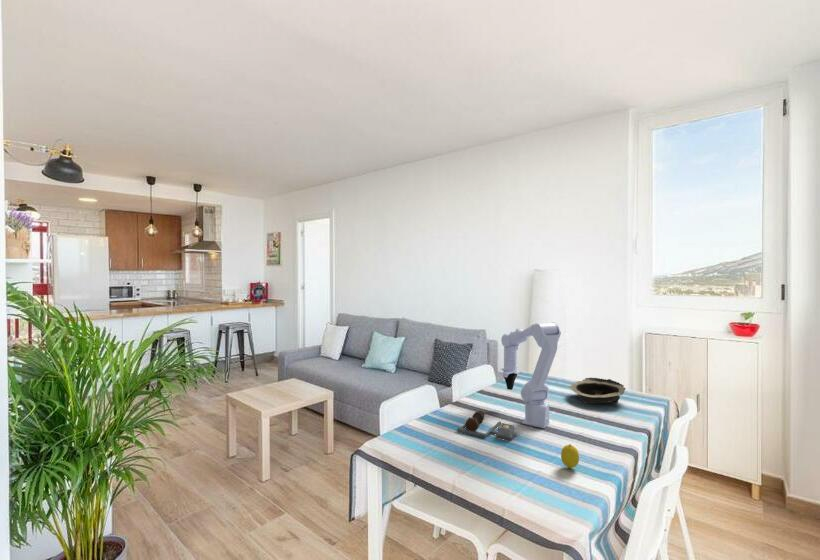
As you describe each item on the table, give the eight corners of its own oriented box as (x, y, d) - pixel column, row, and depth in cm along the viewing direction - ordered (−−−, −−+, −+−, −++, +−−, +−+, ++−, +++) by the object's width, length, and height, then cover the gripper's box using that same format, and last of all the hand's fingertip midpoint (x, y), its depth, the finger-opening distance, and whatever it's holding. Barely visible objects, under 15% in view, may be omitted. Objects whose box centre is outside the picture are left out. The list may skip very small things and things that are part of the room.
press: (522, 429, 164) (522, 418, 164) (508, 444, 150) (508, 433, 149) (474, 418, 175) (475, 408, 175) (457, 431, 161) (457, 421, 161)
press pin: (510, 432, 157) (510, 425, 156) (508, 434, 155) (508, 427, 154) (504, 431, 158) (504, 424, 158) (502, 433, 156) (502, 426, 156)
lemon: (557, 464, 135) (558, 441, 134) (573, 464, 135) (574, 440, 135) (565, 473, 129) (566, 448, 129) (582, 472, 130) (582, 448, 129)
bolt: (482, 423, 175) (473, 435, 161) (473, 415, 177) (462, 427, 163) (489, 412, 174) (480, 423, 160) (479, 405, 176) (469, 415, 162)
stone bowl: (627, 397, 202) (627, 379, 201) (622, 417, 181) (623, 397, 180) (574, 389, 215) (574, 372, 214) (564, 406, 194) (565, 387, 193)
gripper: (507, 356, 194) (507, 383, 194) (496, 362, 182) (495, 391, 182) (521, 357, 190) (521, 386, 190) (511, 364, 178) (511, 394, 178)
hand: (509, 389), depth 186 cm, fingers closed
